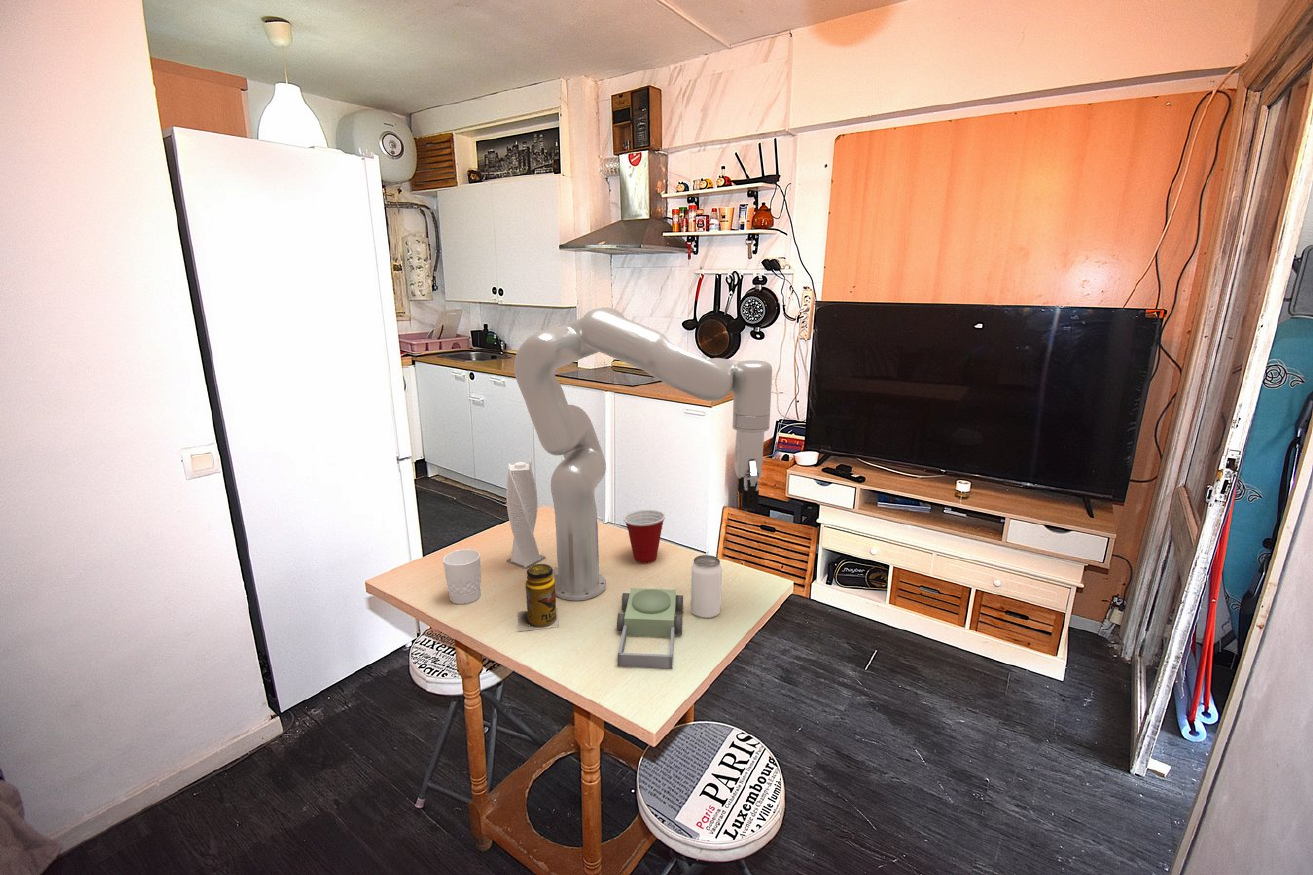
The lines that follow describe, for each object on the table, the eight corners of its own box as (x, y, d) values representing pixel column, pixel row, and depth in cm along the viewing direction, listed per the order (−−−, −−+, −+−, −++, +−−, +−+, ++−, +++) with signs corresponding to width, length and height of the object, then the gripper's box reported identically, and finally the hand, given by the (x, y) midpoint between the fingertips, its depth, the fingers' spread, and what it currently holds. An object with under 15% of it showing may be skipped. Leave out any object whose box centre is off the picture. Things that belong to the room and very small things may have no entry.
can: (718, 620, 122) (720, 569, 119) (688, 617, 123) (689, 566, 120) (721, 604, 128) (723, 555, 125) (692, 601, 129) (693, 552, 126)
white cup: (466, 584, 136) (463, 546, 134) (490, 593, 133) (487, 553, 130) (439, 600, 130) (435, 559, 127) (464, 609, 126) (460, 568, 123)
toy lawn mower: (609, 665, 108) (609, 642, 106) (623, 603, 128) (623, 583, 127) (680, 668, 107) (680, 645, 105) (683, 606, 127) (683, 585, 126)
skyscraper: (549, 559, 149) (544, 455, 142) (526, 572, 142) (520, 464, 135) (526, 551, 153) (520, 450, 146) (503, 563, 147) (495, 458, 140)
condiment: (559, 627, 120) (557, 574, 117) (517, 632, 118) (514, 579, 115) (557, 608, 127) (554, 558, 124) (517, 613, 125) (514, 562, 122)
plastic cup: (639, 545, 157) (639, 504, 154) (673, 555, 151) (673, 513, 148) (615, 560, 148) (614, 517, 145) (649, 572, 143) (649, 527, 140)
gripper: (729, 412, 127) (727, 485, 131) (736, 431, 110) (733, 514, 115) (764, 412, 127) (760, 486, 131) (775, 431, 110) (771, 515, 114)
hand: (747, 499), depth 123 cm, fingers open, 9 cm apart
